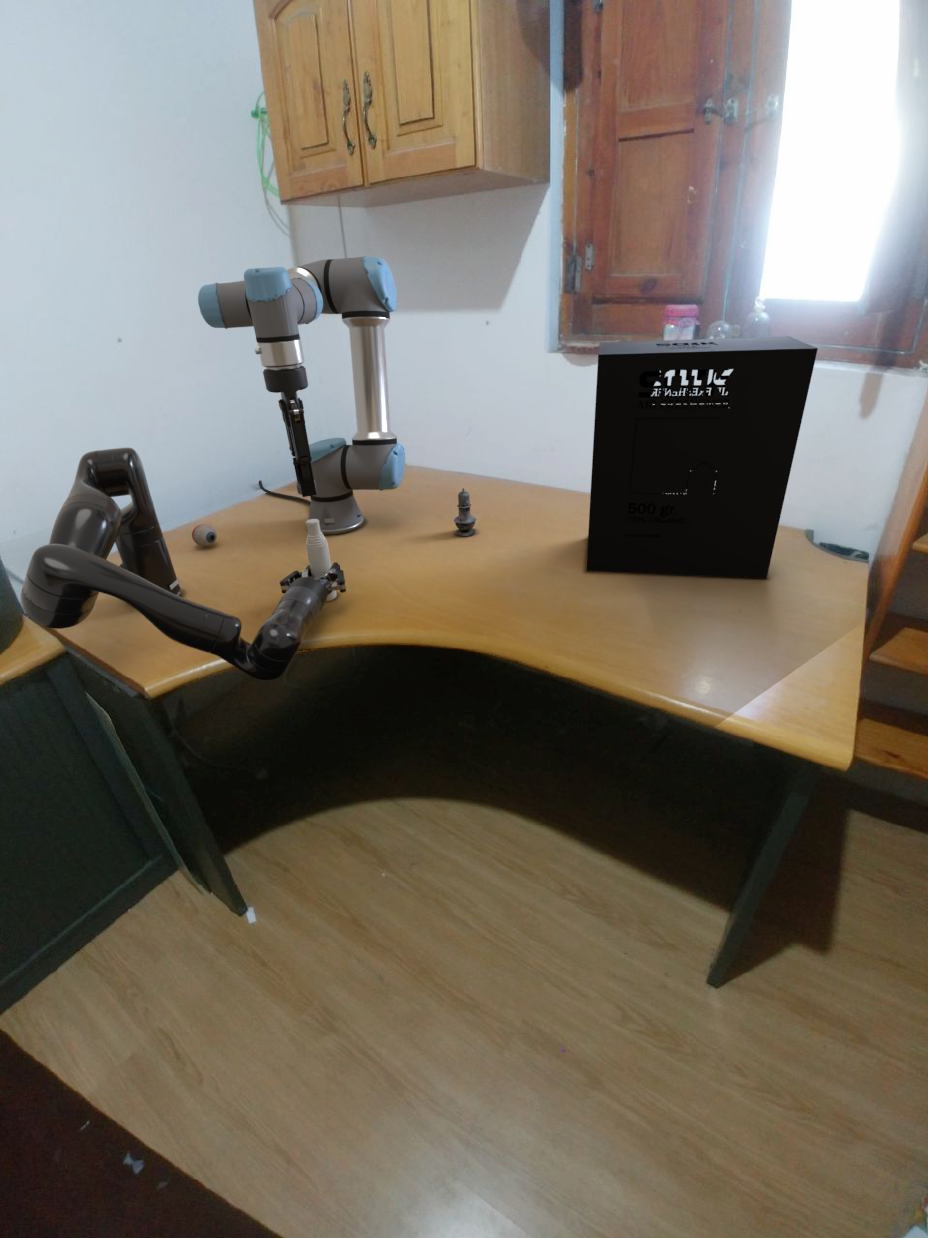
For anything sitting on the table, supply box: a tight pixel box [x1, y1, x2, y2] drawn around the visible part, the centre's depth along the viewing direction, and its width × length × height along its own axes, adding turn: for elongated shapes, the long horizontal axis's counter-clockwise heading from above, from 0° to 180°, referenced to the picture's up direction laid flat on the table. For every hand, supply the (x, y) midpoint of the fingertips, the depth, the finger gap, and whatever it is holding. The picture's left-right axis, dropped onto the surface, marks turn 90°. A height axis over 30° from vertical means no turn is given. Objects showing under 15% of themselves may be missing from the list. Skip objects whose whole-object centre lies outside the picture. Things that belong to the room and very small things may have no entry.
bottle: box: [305, 519, 338, 602], centre depth 127 cm, size 4×4×18 cm
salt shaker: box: [453, 487, 477, 537], centre depth 157 cm, size 6×6×12 cm
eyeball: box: [191, 523, 218, 548], centre depth 159 cm, size 6×6×6 cm
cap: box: [295, 480, 317, 496], centre depth 120 cm, size 4×4×2 cm
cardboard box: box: [585, 335, 819, 580], centre depth 129 cm, size 38×20×45 cm, turn 78°
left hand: (325, 566), depth 131 cm, fingers closed on bottle, 4 cm apart
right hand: (307, 491), depth 120 cm, fingers closed on cap, 4 cm apart
